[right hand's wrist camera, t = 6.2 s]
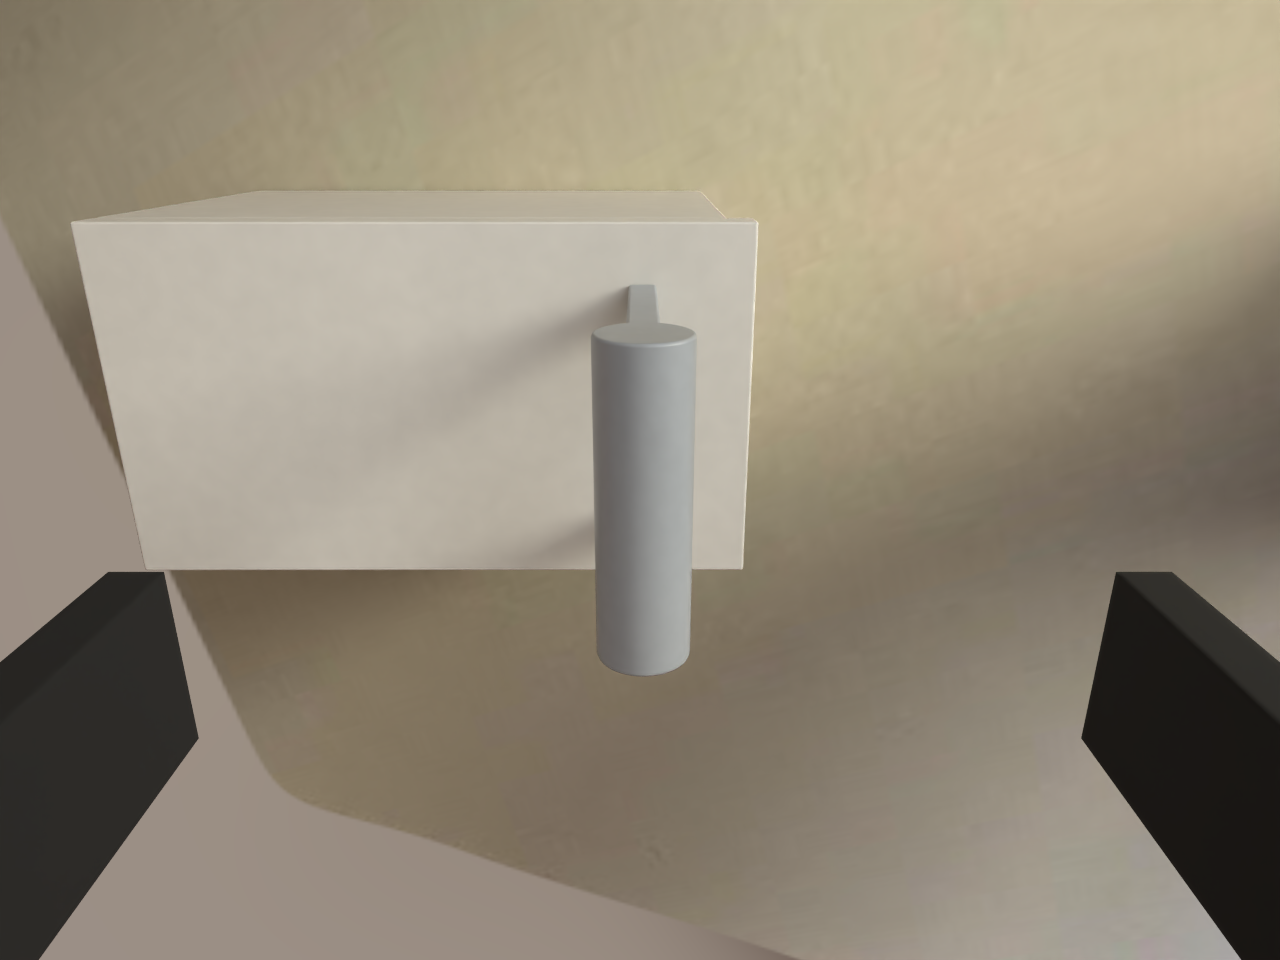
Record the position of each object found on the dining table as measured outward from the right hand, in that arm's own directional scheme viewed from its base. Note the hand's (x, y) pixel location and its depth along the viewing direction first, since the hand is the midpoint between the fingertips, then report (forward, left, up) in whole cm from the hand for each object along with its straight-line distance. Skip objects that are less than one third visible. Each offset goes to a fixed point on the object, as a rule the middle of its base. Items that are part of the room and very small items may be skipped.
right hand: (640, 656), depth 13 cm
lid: (+2, -5, -13) cm, 14 cm away
